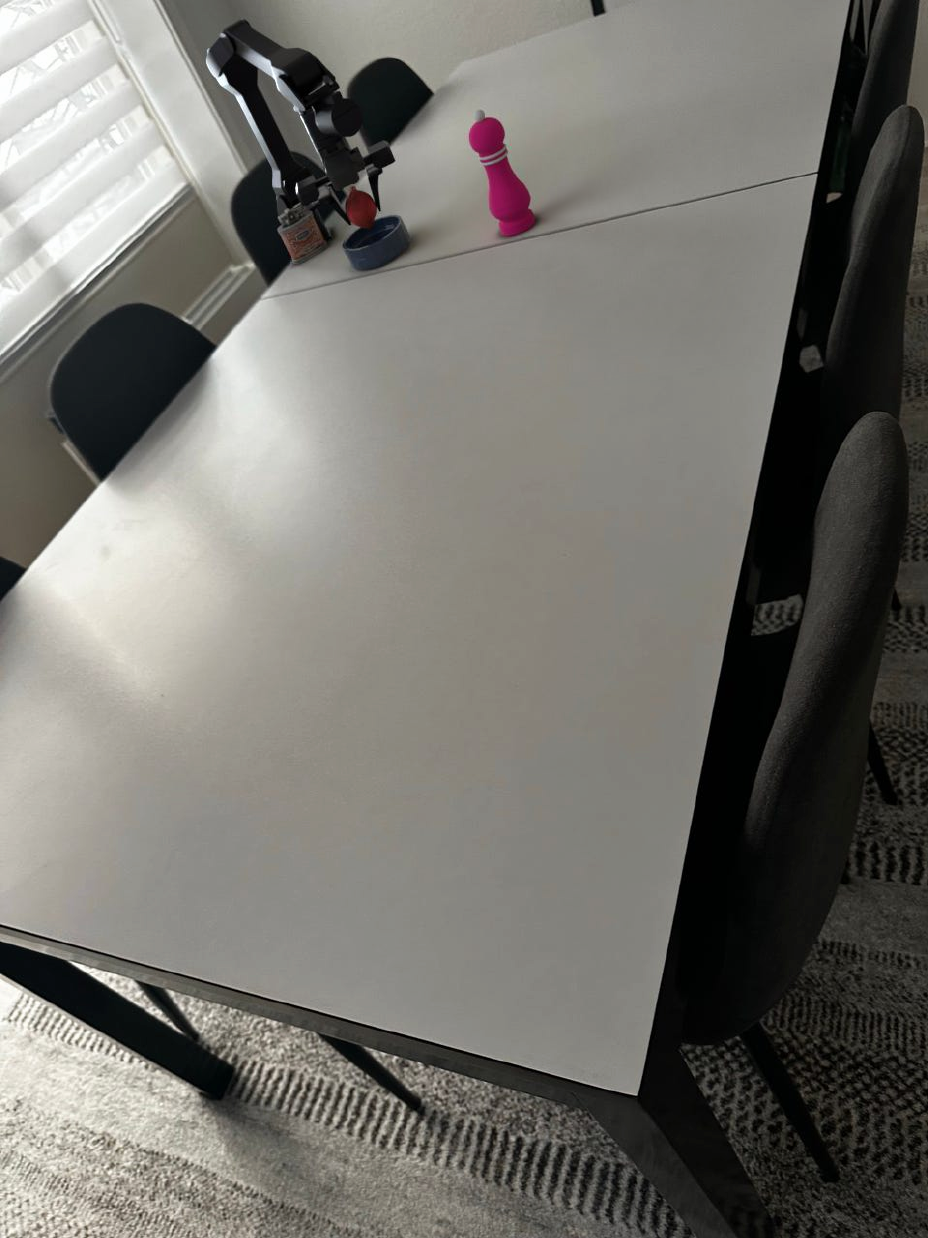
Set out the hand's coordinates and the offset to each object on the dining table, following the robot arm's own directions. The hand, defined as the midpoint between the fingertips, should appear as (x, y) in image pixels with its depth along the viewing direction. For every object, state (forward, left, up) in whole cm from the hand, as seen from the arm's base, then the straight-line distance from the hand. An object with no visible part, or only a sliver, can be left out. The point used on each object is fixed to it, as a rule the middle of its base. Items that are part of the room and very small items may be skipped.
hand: (365, 217), depth 173 cm
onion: (0, 0, -2) cm, 2 cm away
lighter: (-18, -14, -7) cm, 24 cm away
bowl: (0, 0, -7) cm, 7 cm away
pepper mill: (+17, +25, -8) cm, 31 cm away
